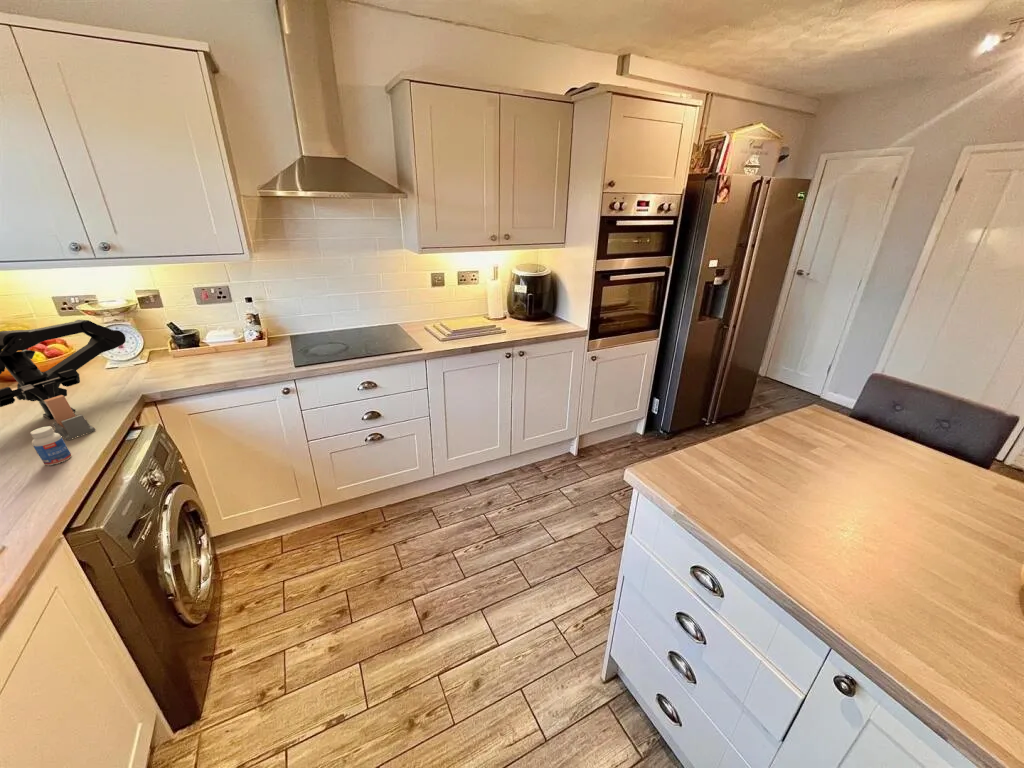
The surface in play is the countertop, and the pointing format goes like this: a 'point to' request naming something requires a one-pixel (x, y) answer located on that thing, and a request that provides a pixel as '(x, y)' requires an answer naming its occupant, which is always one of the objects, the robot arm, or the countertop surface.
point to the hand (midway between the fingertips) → (55, 407)
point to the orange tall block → (59, 409)
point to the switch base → (73, 427)
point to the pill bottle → (50, 446)
